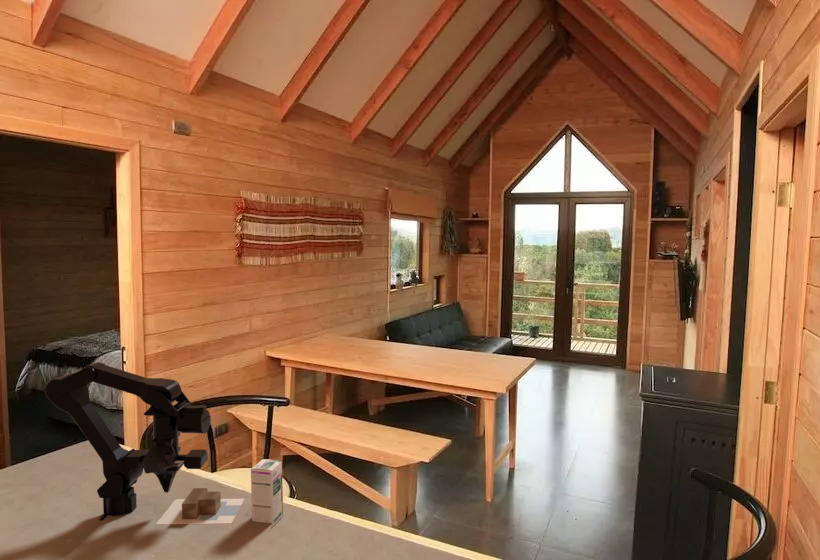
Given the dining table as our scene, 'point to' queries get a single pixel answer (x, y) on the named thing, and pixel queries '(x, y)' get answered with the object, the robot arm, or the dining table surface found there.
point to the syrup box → (267, 491)
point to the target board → (223, 515)
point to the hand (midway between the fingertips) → (167, 491)
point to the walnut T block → (201, 503)
